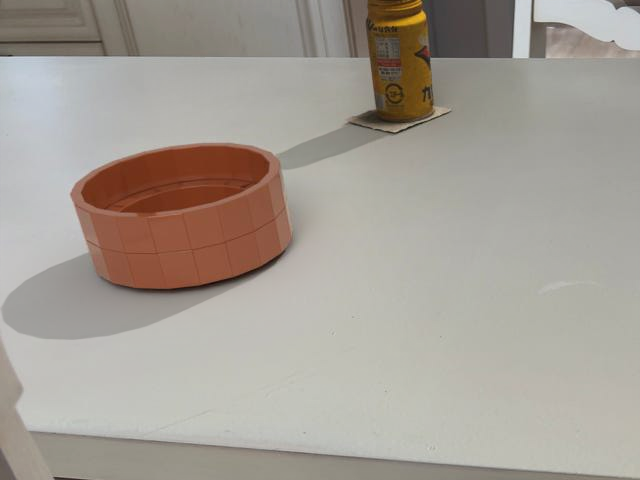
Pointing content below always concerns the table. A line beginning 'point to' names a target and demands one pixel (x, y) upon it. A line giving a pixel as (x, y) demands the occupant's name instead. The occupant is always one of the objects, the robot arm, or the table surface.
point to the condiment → (398, 66)
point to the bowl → (183, 214)
